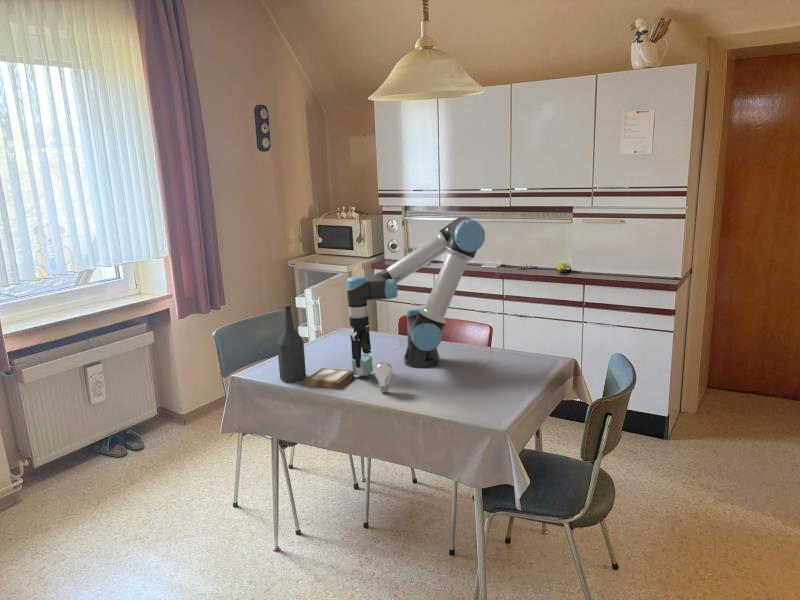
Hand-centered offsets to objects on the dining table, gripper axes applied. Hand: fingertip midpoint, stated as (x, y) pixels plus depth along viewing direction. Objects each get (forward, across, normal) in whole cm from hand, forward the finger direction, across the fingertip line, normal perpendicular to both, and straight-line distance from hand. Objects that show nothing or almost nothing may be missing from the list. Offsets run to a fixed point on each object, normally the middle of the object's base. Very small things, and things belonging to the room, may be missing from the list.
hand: (363, 371), depth 244 cm
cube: (0, 0, 0) cm, 1 cm away
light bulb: (+2, +14, +14) cm, 20 cm away
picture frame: (+2, +8, -11) cm, 14 cm away
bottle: (+1, +9, -27) cm, 28 cm away
